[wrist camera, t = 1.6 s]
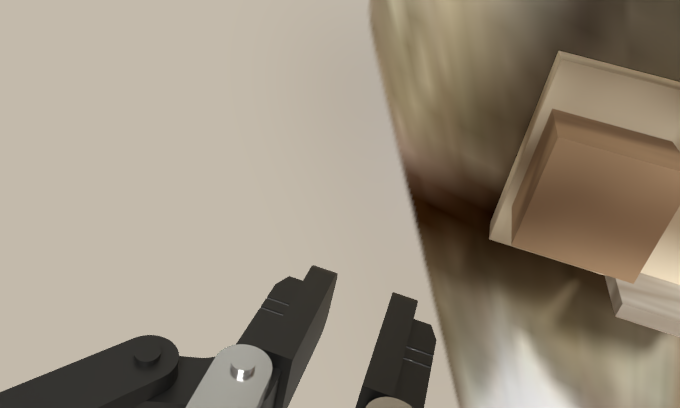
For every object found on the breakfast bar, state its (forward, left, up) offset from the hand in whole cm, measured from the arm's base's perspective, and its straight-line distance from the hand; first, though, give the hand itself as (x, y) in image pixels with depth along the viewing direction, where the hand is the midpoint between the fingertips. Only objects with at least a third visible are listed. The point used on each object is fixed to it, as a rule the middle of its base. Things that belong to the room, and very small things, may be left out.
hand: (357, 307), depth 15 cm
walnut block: (0, +8, -15) cm, 17 cm away
